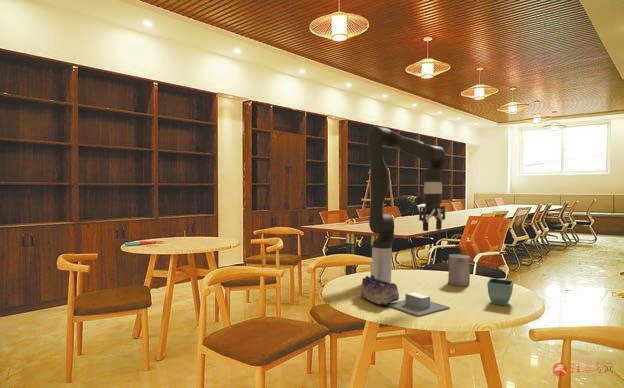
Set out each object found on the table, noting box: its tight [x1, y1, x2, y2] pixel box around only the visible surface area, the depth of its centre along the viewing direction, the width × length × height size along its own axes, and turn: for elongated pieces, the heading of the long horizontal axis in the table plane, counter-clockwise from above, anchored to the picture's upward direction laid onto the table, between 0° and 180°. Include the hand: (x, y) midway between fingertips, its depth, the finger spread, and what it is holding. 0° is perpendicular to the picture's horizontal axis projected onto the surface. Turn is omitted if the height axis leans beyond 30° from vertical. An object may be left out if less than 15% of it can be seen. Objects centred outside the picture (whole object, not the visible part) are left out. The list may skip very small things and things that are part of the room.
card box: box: [404, 291, 431, 309], centre depth 156 cm, size 5×8×4 cm, turn 35°
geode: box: [360, 275, 400, 306], centre depth 164 cm, size 20×12×10 cm, turn 27°
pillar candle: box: [447, 252, 471, 287], centre depth 194 cm, size 10×10×15 cm
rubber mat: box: [385, 299, 450, 317], centre depth 156 cm, size 16×18×1 cm
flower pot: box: [486, 277, 514, 306], centre depth 162 cm, size 9×9×9 cm
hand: (432, 230), depth 173 cm, fingers open, 8 cm apart
